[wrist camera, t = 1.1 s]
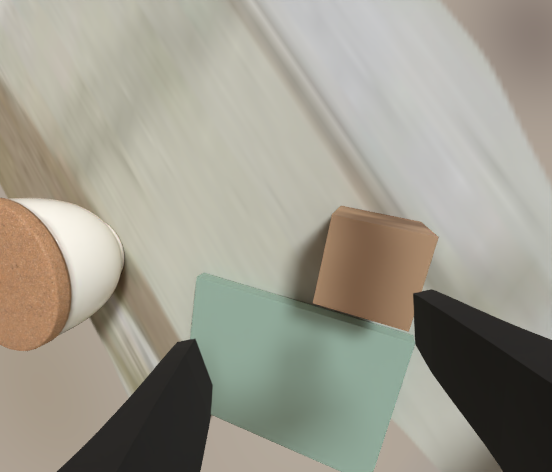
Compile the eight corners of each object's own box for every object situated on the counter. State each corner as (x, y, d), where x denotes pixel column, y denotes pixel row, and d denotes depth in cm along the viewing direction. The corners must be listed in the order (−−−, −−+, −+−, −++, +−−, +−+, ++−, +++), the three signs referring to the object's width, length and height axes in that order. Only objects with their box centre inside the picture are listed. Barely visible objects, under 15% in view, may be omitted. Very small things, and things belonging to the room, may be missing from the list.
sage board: (413, 335, 20) (415, 343, 19) (369, 471, 22) (369, 484, 22) (203, 272, 24) (196, 276, 23) (189, 394, 27) (183, 402, 26)
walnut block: (420, 221, 18) (438, 237, 14) (399, 294, 19) (408, 331, 15) (341, 205, 19) (331, 214, 15) (325, 274, 21) (312, 303, 16)
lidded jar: (161, 298, 26) (51, 362, 17) (76, 312, 29) (-50, 370, 20) (123, 178, 24) (-16, 179, 16) (40, 208, 28) (-111, 222, 19)
